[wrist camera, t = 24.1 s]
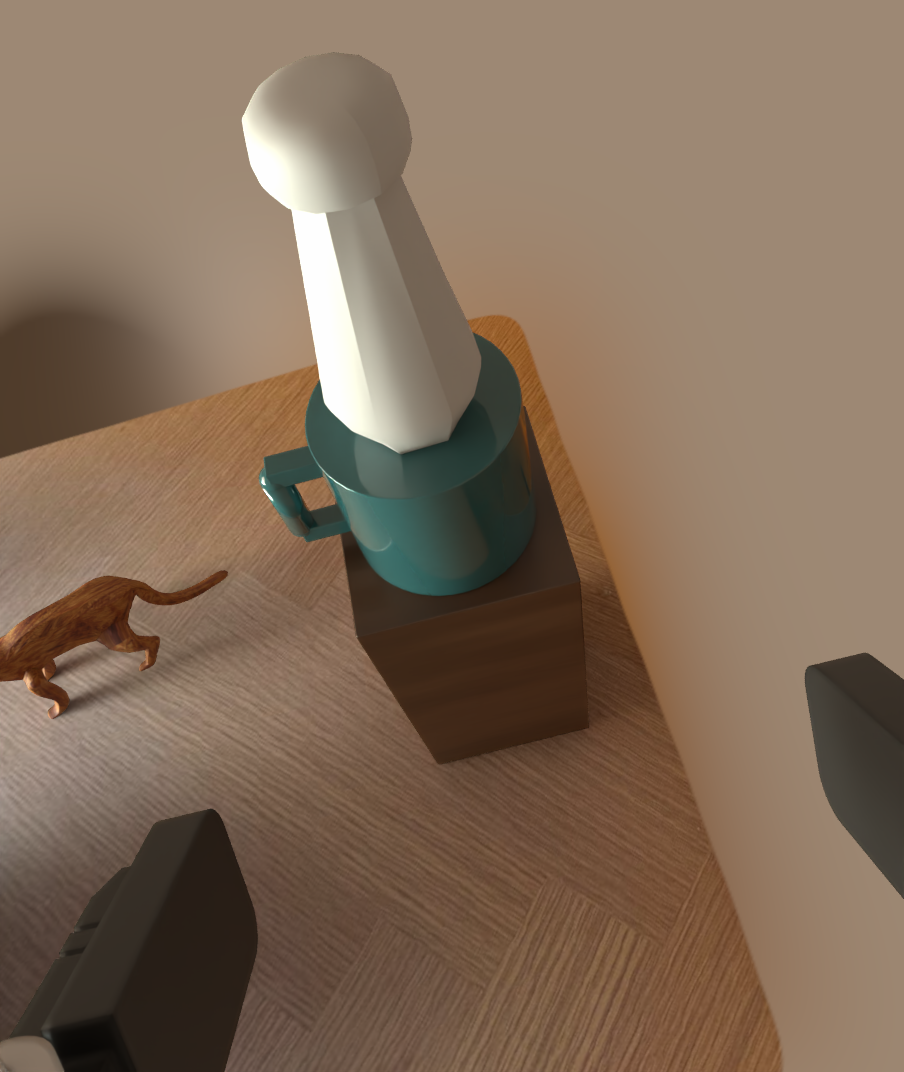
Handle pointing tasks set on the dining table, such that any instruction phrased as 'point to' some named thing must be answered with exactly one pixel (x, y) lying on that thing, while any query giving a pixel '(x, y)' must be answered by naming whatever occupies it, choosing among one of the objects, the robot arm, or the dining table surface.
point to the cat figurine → (84, 630)
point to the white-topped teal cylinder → (421, 490)
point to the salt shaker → (363, 250)
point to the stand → (483, 643)
